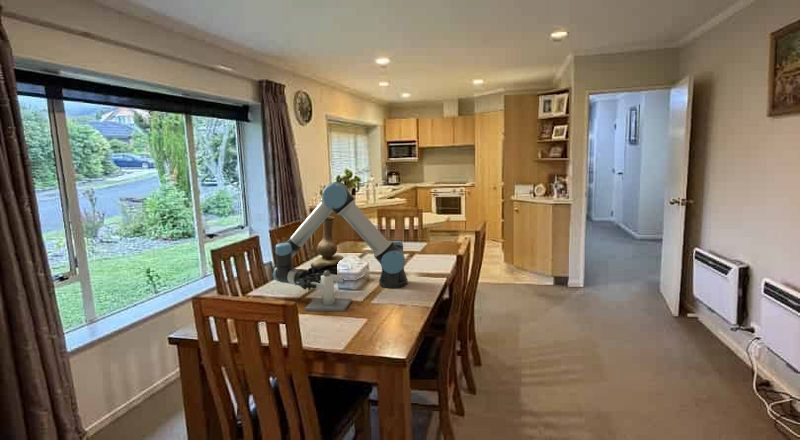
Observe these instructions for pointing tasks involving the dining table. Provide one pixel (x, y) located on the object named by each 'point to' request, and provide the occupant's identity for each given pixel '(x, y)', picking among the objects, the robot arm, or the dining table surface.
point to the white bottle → (327, 288)
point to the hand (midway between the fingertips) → (332, 283)
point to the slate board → (337, 306)
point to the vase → (326, 251)
